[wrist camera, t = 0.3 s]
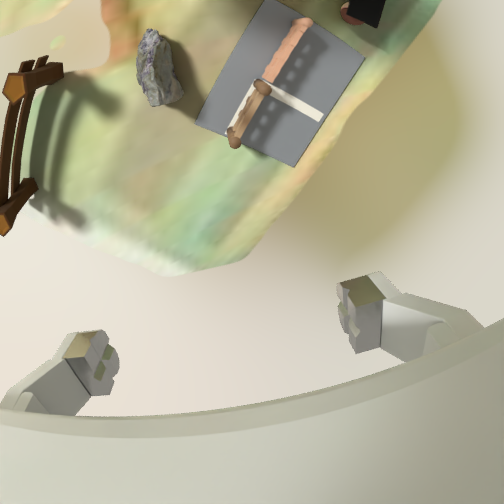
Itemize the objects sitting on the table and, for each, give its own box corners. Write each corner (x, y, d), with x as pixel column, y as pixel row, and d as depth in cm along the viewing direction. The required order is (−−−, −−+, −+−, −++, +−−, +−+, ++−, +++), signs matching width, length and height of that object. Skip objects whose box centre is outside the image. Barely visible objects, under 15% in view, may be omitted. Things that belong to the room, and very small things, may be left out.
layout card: (267, -4, 38) (267, -4, 38) (364, 57, 47) (365, 57, 47) (194, 123, 53) (194, 124, 52) (292, 166, 62) (293, 167, 61)
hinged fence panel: (267, 79, 48) (274, 84, 43) (258, 75, 47) (265, 79, 43) (303, 22, 41) (315, 21, 37) (294, 17, 41) (305, 15, 36)
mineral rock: (147, 27, 39) (136, 25, 31) (205, 43, 43) (205, 43, 35) (124, 91, 46) (109, 103, 38) (178, 106, 50) (174, 120, 42)
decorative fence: (48, 53, 37) (5, 64, 25) (72, 59, 39) (34, 70, 28) (18, 197, 54) (-11, 237, 43) (38, 204, 56) (11, 245, 45)
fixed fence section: (256, 76, 48) (263, 82, 43) (265, 81, 49) (274, 87, 44) (224, 133, 54) (227, 146, 49) (233, 137, 55) (237, 150, 50)
